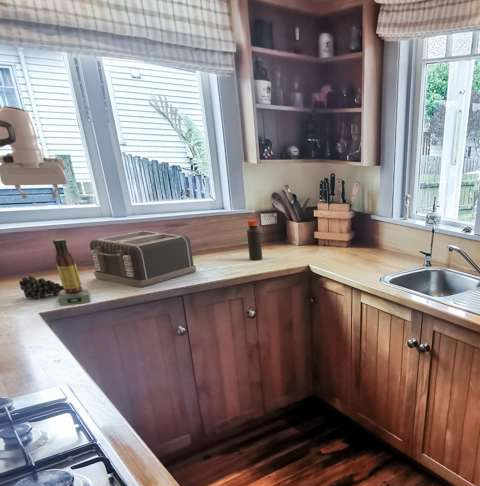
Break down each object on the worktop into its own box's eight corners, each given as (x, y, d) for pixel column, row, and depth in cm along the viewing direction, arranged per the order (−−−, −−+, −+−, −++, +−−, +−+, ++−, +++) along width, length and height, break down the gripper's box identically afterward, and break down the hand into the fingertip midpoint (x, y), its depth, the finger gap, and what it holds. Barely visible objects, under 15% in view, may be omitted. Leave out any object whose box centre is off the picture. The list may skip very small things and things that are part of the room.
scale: (60, 306, 176) (57, 298, 174) (61, 298, 184) (59, 290, 183) (90, 302, 180) (88, 295, 179) (90, 295, 188) (89, 287, 187)
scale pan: (59, 297, 175) (58, 295, 175) (60, 290, 183) (60, 288, 182) (87, 294, 179) (87, 292, 179) (88, 288, 187) (87, 286, 186)
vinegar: (264, 258, 252) (261, 220, 243) (259, 261, 246) (255, 222, 237) (253, 257, 253) (249, 219, 245) (247, 260, 247) (243, 221, 239)
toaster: (85, 280, 206) (75, 241, 199) (151, 263, 235) (145, 228, 228) (133, 290, 195) (124, 249, 187) (196, 271, 224) (191, 235, 216)
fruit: (62, 270, 187) (16, 273, 180) (63, 281, 182) (16, 285, 175) (66, 288, 192) (22, 292, 185) (68, 300, 187) (22, 304, 180)
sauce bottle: (72, 287, 184) (58, 237, 175) (86, 288, 183) (73, 237, 175) (59, 292, 178) (45, 240, 170) (74, 293, 177) (60, 241, 169)
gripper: (63, 157, 175) (72, 195, 181) (-4, 157, 166) (8, 197, 172) (62, 158, 170) (71, 197, 176) (-7, 157, 161) (5, 199, 167)
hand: (40, 197), depth 174 cm, fingers open, 8 cm apart
